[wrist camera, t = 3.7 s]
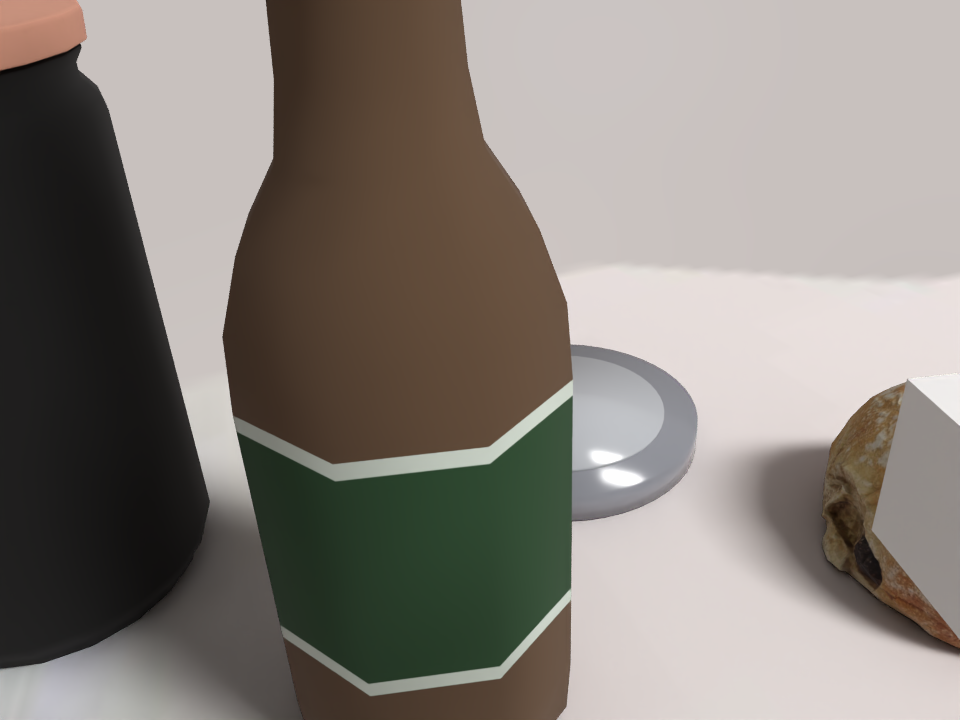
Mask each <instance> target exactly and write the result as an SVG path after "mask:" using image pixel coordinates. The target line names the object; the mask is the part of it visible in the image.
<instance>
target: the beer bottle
mask: <svg viewBox="0 0 960 720" xmlns="http://www.w3.org/2000/svg"><path fill="white" fill-rule="evenodd" d="M266 6H267V17H268V26H269V36H270V46H271V55H272V66H273V74H274V146H273V147H274V152H273V160H272V163H271V165H270V167H269V169H268V171H267V174H266V176H265V178H264V181H263V183H262V185H261V187H260V189H259V192H258V194H257V196H256V199H255V201H254V203H253V205H252V207H251V209H250V212H249V214H248V218H247V221H246V224H245V227H244V230H243V234H242V237H241V240H240V243H239V247H238V250H237V253H236V256H235V262H234V268H233V274H232V280H231V286H230V293H229V299H228V306H227V312H226V318H225V324H224V330H223V344H224V352H225V359H226V367H227V375H228V383H229V390H230V398H231V405H232V413H233V418H234V423H235V427H236V432H237V436H238V440H239V445H240V449H241V454H242V458H243V463H244V467H245V471H246V476H247V480H248V485H249V489H250V493H251V498H252V502H253V507H254V511H255V515H256V520H257V524H258V529H259V533H260V538H261V542H262V546H263V551H264V555H265V560H266V564H267V568H268V573H269V577H270V582H271V586H272V590H273V595H274V599H275V604H276V608H277V612H278V617H279V621H280V626H281V630H282V635H283V639H284V643H285V648H286V652H287V657H288V661H289V665H290V670H291V674H292V679H293V683H294V687H295V692H296V696H297V701H298V704H299V707H300V710H301V713H302V716H303V719H304V720H556V719H557V718H558V717H559V715H560V714H561V713H562V712H563V710H564V709H565V708H566V705H567V694H568V684H569V673H570V654H571V546H572V437H573V373H572V360H571V348H570V335H569V323H568V310H567V302H566V299H565V296H564V294H563V291H562V288H561V286H560V283H559V280H558V278H557V275H556V272H555V270H554V267H553V264H552V262H551V259H550V256H549V254H548V251H547V248H546V245H545V243H544V240H543V237H542V235H541V232H540V230H539V228H538V226H537V224H536V222H535V220H534V218H533V216H532V214H531V212H530V210H529V208H528V206H527V204H526V202H525V200H524V199H523V197H522V195H521V193H520V191H519V189H518V188H517V186H516V185H515V183H514V182H513V181H512V179H511V178H510V176H509V175H508V173H507V172H506V171H505V169H504V168H503V166H502V165H501V163H500V162H499V161H498V159H497V158H496V156H495V155H494V153H493V152H492V151H491V149H490V148H489V146H488V145H487V144H486V142H485V141H484V138H483V134H482V129H481V124H480V119H479V115H478V110H477V106H476V101H475V96H474V92H473V87H472V83H471V78H470V73H469V69H468V62H467V53H466V44H465V35H464V26H463V16H462V7H461V0H266Z"/></svg>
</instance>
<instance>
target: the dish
mask: <svg viewBox="0 0 960 720" xmlns="http://www.w3.org/2000/svg"><path fill="white" fill-rule="evenodd" d="M570 348H571V360H572V373H573V437H572V521H578V520H590V519H597V518H603V517H609V516H613V515H617V514H621V513H625V512H627V511H630V510H633V509H636V508H639V507H641V506H643V505H645V504H648V503H650V502H652V501H654V500H656V499H657V498H659V497H660V496H662V495H663V494H665V493H666V492H668V491H669V490H670V489H672V488H673V487H674V486H675V485H676V484H677V483H678V482H679V481H680V480H681V479H682V477H683V476H684V475H685V474H686V472H687V471H688V469H689V467H690V465H691V463H692V460H693V457H694V453H695V445H696V434H697V412H696V407H695V405H694V403H693V400H692V398H691V396H690V395H689V394H688V392H687V391H686V389H685V388H684V387H683V386H682V385H681V384H680V383H679V382H678V381H677V380H676V379H675V378H673V377H672V376H671V375H669V374H668V373H667V372H665V371H664V370H662V369H660V368H658V367H657V366H655V365H653V364H651V363H649V362H647V361H644V360H642V359H640V358H637V357H634V356H631V355H629V354H625V353H621V352H618V351H614V350H609V349H604V348H599V347H592V346H584V345H570Z"/></svg>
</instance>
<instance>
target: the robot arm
mask: <svg viewBox="0 0 960 720" xmlns="http://www.w3.org/2000/svg"><path fill="white" fill-rule="evenodd" d="M872 531H873V532H874V534H875V535H876V536H877V537H878V539H879V540H880V541H881V542H882V544H883V545H884V546H885V547H886V549H887V550H888V551H889V552H890V554H891V555H892V556H893V557H894V559H895V560H896V561H897V562H898V563H899V565H900V566H901V567H902V568H903V570H904V571H905V572H906V573H907V575H908V576H909V577H910V578H911V580H912V581H913V582H914V583H915V585H916V586H917V587H918V588H919V590H920V591H921V592H922V593H923V594H924V596H925V597H926V598H927V599H928V601H929V602H930V603H931V604H932V606H933V607H934V608H935V609H936V611H937V612H938V613H939V614H940V616H941V617H942V618H943V619H944V621H945V622H946V623H947V624H948V625H949V627H950V628H951V629H952V630H953V632H954V633H955V634H956V635H957V637H958V638H959V639H960V374H959V373H952V374H944V375H935V376H927V377H918V378H910V379H907V382H906V386H905V390H904V394H903V399H902V403H901V407H900V411H899V416H898V420H897V424H896V428H895V433H894V437H893V441H892V445H891V450H890V454H889V458H888V462H887V467H886V471H885V475H884V479H883V484H882V488H881V492H880V496H879V501H878V505H877V509H876V513H875V518H874V522H873V526H872Z"/></svg>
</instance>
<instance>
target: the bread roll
mask: <svg viewBox="0 0 960 720" xmlns="http://www.w3.org/2000/svg"><path fill="white" fill-rule="evenodd" d="M905 386H906V382H905V383H902V384H899V385H897V386H894V387H891V388H889V389H887V390H885V391H883V392H881V393H879V394H877V395H875V396H873V397H872V398H870V399H869V400H868V401H867V402H866V403H865V404H864V405H863V406H862V407H860V408H859V409H858V411H857V412H856V413H855V414H854V415H853V416H851V418H850V419H849V421H848V422H847V424H846V425H845V426H844V428H843V429H842V431H841V432H840V433H839V435H838V436H837V438H836V439H835V440H834V442H833V443H832V445H831V449H830V454H829V460H828V465H827V470H826V474H825V480H824V489H823V495H824V496H823V512H822V515H821V516H822V517H823V518H824V519H825V520H826V525H827V530H826V533H825V535H824V537H823V539H822V547H823V550H824V553H825V555H826V558H827V560H828V561H830V562H831V563H832V564H833V565H834V566H835V567H837V568H838V569H839V570H841V571H846V572H847V573H848V574H850V575H851V576H852V577H853V578H855V579H856V580H857V581H858V582H860V583H861V584H862V585H863V586H864V587H866V588H867V589H868V590H869V591H870V592H871V593H872V594H873V595H874V596H876V597H877V598H878V599H879V600H880V601H882V602H883V603H885V604H887V605H888V606H890V607H891V608H893V609H895V610H896V611H898V612H899V613H901V614H903V615H904V616H906V617H908V618H909V619H911V620H913V621H914V622H916V623H917V624H918V625H919V626H921V627H922V628H923V629H924V630H925V631H926V632H927V633H928V634H930V635H931V636H933V637H935V638H937V639H940V640H942V641H944V642H946V643H948V644H951V645H953V646H955V647H957V648H959V649H960V639H959V638H958V637H957V635H956V634H955V633H954V632H953V630H952V629H951V628H950V627H949V625H948V624H947V623H946V622H945V621H944V619H943V618H942V617H941V616H940V614H939V613H938V612H937V611H936V609H935V608H934V607H933V606H932V604H931V603H930V602H929V601H928V599H927V598H926V597H925V596H924V594H923V593H922V592H921V591H920V590H919V588H918V587H917V586H916V585H915V583H914V582H913V581H912V580H911V578H910V577H909V576H908V575H907V573H906V572H905V571H904V570H903V568H902V567H901V566H900V565H899V563H898V562H897V561H896V560H895V559H894V557H893V556H892V555H891V554H890V552H889V551H888V550H887V549H886V547H885V546H884V545H883V544H882V542H881V541H880V540H879V539H878V537H877V536H876V535H875V534H874V532H873V531H872V526H873V522H874V518H875V513H876V509H877V505H878V501H879V496H880V492H881V488H882V484H883V479H884V475H885V471H886V467H887V462H888V458H889V454H890V450H891V445H892V441H893V437H894V433H895V428H896V424H897V420H898V416H899V411H900V407H901V403H902V399H903V394H904V390H905Z"/></svg>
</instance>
